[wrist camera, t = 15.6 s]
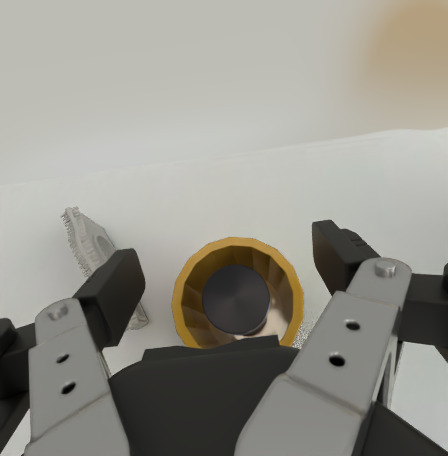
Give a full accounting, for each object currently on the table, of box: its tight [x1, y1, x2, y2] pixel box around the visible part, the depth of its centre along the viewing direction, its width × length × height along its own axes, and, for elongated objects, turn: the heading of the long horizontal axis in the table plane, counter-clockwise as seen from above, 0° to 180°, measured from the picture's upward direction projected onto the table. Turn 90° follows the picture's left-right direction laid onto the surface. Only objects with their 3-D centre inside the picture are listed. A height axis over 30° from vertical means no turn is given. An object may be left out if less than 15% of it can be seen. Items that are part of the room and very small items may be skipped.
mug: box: [171, 237, 304, 349], centre depth 20 cm, size 11×8×9 cm
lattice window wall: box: [61, 207, 148, 332], centre depth 25 cm, size 12×2×6 cm, turn 33°
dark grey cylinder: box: [202, 264, 270, 336], centre depth 20 cm, size 4×4×10 cm
